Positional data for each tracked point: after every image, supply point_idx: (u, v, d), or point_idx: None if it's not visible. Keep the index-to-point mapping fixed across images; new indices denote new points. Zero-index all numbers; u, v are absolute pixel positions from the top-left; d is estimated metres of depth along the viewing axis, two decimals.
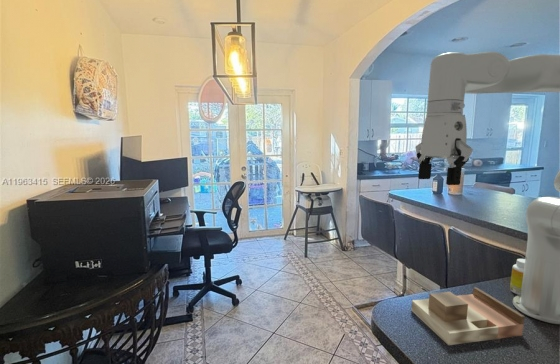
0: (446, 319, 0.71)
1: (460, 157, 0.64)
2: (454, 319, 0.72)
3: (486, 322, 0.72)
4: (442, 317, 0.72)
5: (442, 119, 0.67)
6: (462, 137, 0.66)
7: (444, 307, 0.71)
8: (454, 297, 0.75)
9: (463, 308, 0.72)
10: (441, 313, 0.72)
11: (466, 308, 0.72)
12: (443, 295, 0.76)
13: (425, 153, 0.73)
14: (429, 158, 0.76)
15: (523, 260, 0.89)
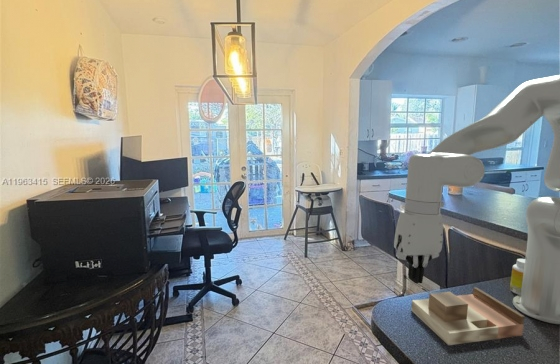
0: (446, 319, 0.71)
1: (430, 256, 0.70)
2: (454, 319, 0.72)
3: (486, 322, 0.72)
4: (442, 317, 0.72)
5: (437, 219, 0.67)
6: None
7: (444, 307, 0.71)
8: (454, 297, 0.75)
9: (463, 308, 0.72)
10: (441, 313, 0.72)
11: (466, 308, 0.72)
12: (443, 295, 0.76)
13: (413, 253, 0.68)
14: (410, 257, 0.71)
15: (523, 260, 0.89)
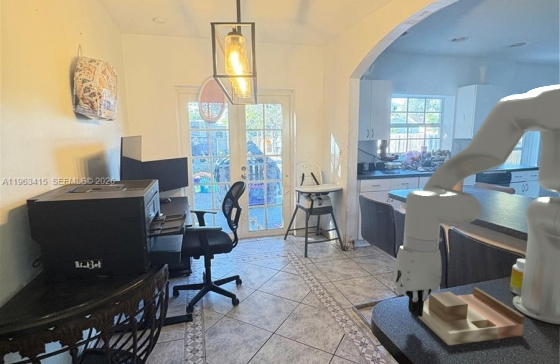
0: (446, 319, 0.71)
1: (429, 290, 0.72)
2: (454, 319, 0.72)
3: (486, 322, 0.72)
4: (442, 317, 0.72)
5: (435, 255, 0.69)
6: None
7: (444, 307, 0.71)
8: (454, 297, 0.75)
9: (463, 308, 0.72)
10: (441, 313, 0.72)
11: (466, 308, 0.72)
12: (443, 295, 0.76)
13: (413, 288, 0.69)
14: None
15: (523, 260, 0.89)
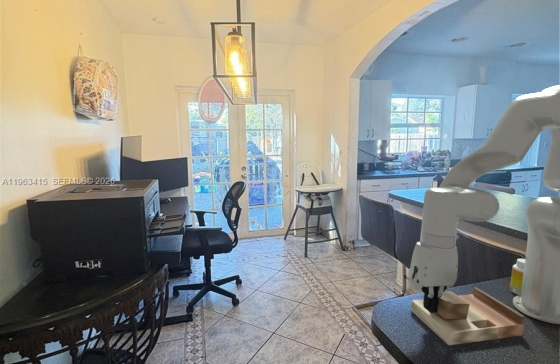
0: (447, 316, 0.71)
1: (445, 287, 0.72)
2: (454, 317, 0.72)
3: (486, 322, 0.72)
4: (443, 314, 0.72)
5: (452, 252, 0.69)
6: None
7: (446, 305, 0.71)
8: (456, 297, 0.75)
9: (464, 307, 0.72)
10: (442, 310, 0.72)
11: (467, 308, 0.72)
12: (445, 293, 0.76)
13: (429, 284, 0.70)
14: None
15: (523, 260, 0.89)
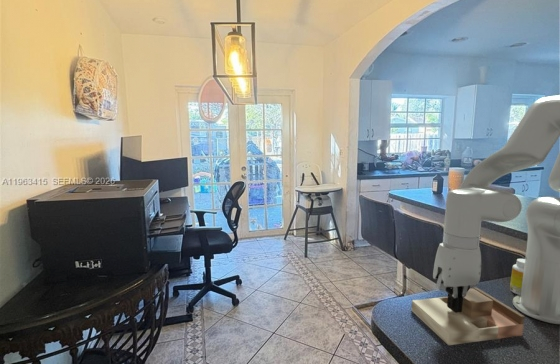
0: (472, 315, 0.73)
1: (468, 286, 0.74)
2: (480, 315, 0.73)
3: (486, 322, 0.72)
4: (468, 313, 0.73)
5: (476, 252, 0.71)
6: None
7: (470, 304, 0.73)
8: (478, 294, 0.76)
9: (488, 304, 0.73)
10: (466, 310, 0.74)
11: (491, 305, 0.73)
12: (467, 292, 0.77)
13: (453, 285, 0.71)
14: (449, 287, 0.75)
15: (523, 260, 0.89)
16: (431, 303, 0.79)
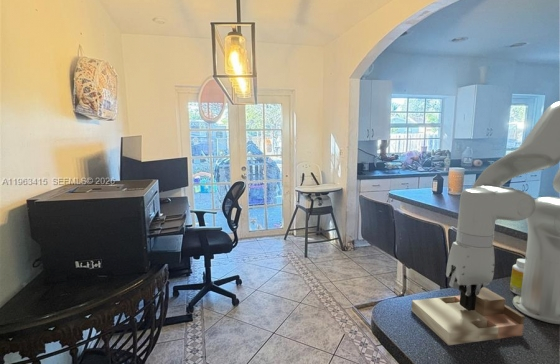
0: (485, 313, 0.73)
1: (481, 285, 0.74)
2: (492, 313, 0.74)
3: (486, 322, 0.72)
4: (480, 311, 0.74)
5: (489, 251, 0.71)
6: None
7: (482, 302, 0.73)
8: (490, 292, 0.77)
9: (500, 303, 0.74)
10: (479, 308, 0.74)
11: (503, 303, 0.74)
12: None
13: (467, 283, 0.72)
14: (462, 285, 0.75)
15: (523, 260, 0.89)
16: (431, 303, 0.79)
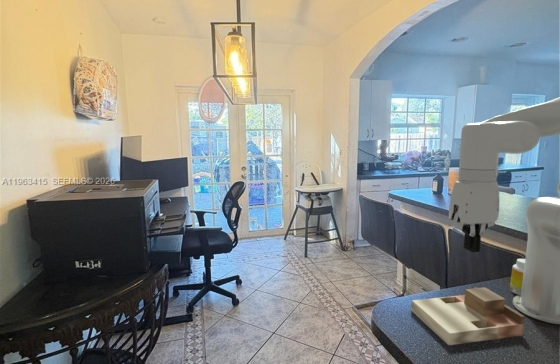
0: (485, 313, 0.73)
1: (486, 225, 0.71)
2: (492, 314, 0.74)
3: (486, 322, 0.72)
4: (480, 312, 0.74)
5: (493, 187, 0.68)
6: None
7: (482, 302, 0.73)
8: (490, 292, 0.77)
9: (500, 303, 0.74)
10: (479, 308, 0.75)
11: (503, 303, 0.74)
12: (479, 290, 0.78)
13: (471, 221, 0.69)
14: None
15: (523, 260, 0.89)
16: (431, 303, 0.79)
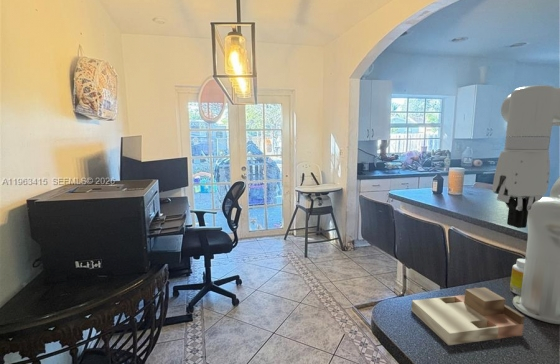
0: (485, 313, 0.73)
1: (534, 199, 0.66)
2: (492, 314, 0.74)
3: (486, 322, 0.72)
4: (480, 312, 0.74)
5: (545, 156, 0.63)
6: None
7: (482, 302, 0.73)
8: (490, 292, 0.77)
9: (500, 303, 0.74)
10: (479, 308, 0.75)
11: (503, 303, 0.74)
12: (479, 290, 0.78)
13: (519, 193, 0.64)
14: None
15: (523, 260, 0.89)
16: (431, 303, 0.79)
